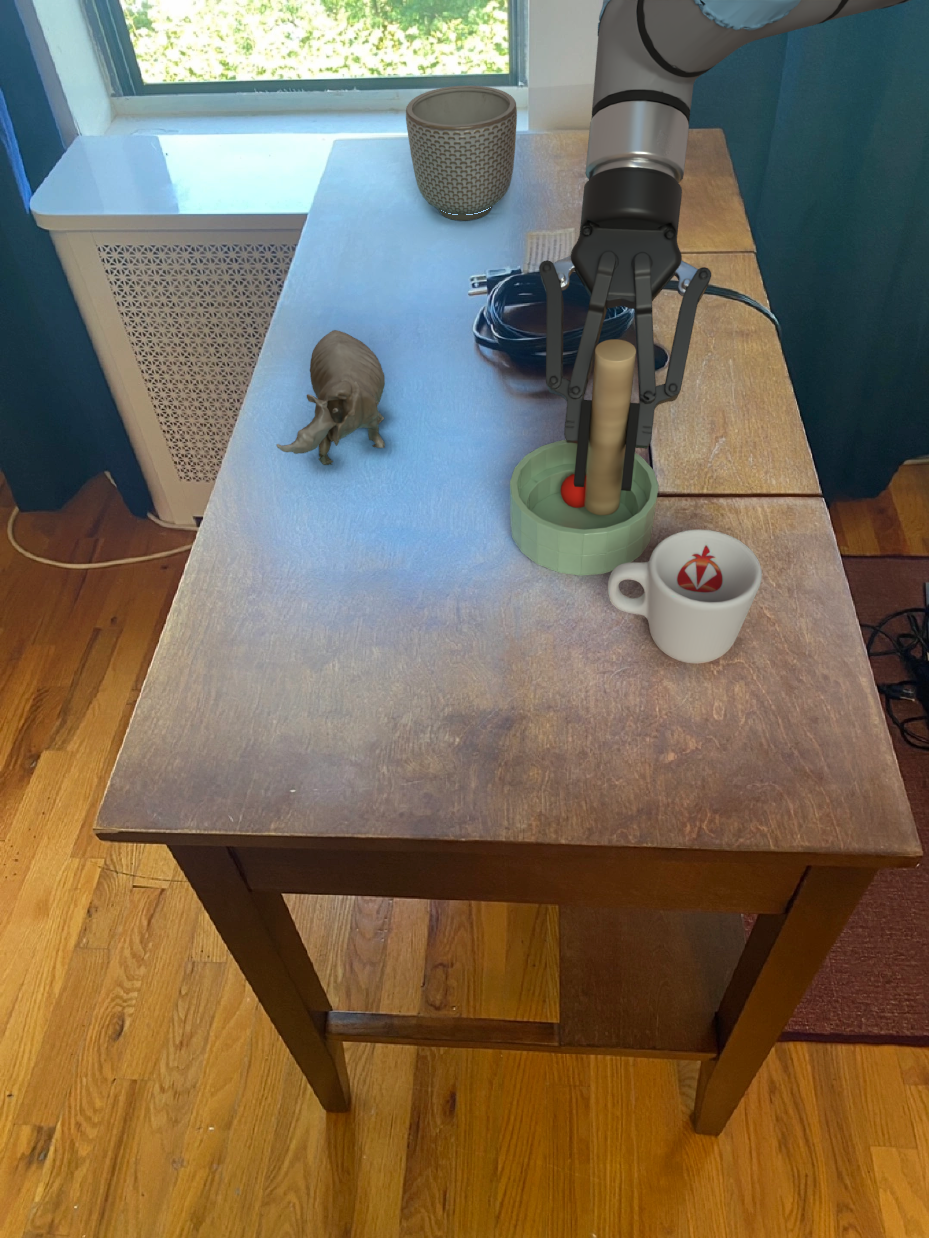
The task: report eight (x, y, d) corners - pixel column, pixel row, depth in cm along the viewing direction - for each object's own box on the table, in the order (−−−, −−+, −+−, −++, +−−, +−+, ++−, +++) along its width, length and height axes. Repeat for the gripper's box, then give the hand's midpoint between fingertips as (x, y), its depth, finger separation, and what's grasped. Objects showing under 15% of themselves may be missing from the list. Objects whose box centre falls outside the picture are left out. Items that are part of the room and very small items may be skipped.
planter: (413, 190, 128) (404, 89, 118) (512, 183, 128) (511, 81, 118) (414, 237, 119) (405, 131, 109) (522, 229, 119) (522, 122, 109)
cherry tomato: (601, 508, 81) (601, 479, 79) (570, 518, 80) (569, 490, 78) (585, 491, 83) (585, 463, 81) (555, 501, 82) (554, 473, 80)
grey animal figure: (408, 358, 95) (365, 293, 80) (403, 488, 94) (359, 445, 79) (336, 362, 97) (282, 298, 82) (330, 489, 95) (274, 448, 81)
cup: (596, 662, 71) (603, 591, 65) (610, 588, 76) (618, 516, 70) (740, 685, 69) (761, 613, 63) (744, 607, 74) (764, 535, 68)
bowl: (677, 556, 78) (686, 507, 74) (547, 599, 75) (548, 551, 71) (609, 472, 86) (614, 424, 82) (489, 509, 83) (487, 461, 79)
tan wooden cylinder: (625, 509, 78) (643, 355, 67) (594, 519, 78) (607, 365, 66) (609, 489, 80) (623, 335, 69) (578, 498, 79) (588, 345, 68)
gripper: (733, 205, 73) (701, 499, 75) (533, 198, 76) (506, 483, 77) (747, 164, 66) (711, 491, 68) (525, 158, 68) (496, 474, 70)
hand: (602, 486), depth 72 cm, fingers closed on tan wooden cylinder, 3 cm apart
